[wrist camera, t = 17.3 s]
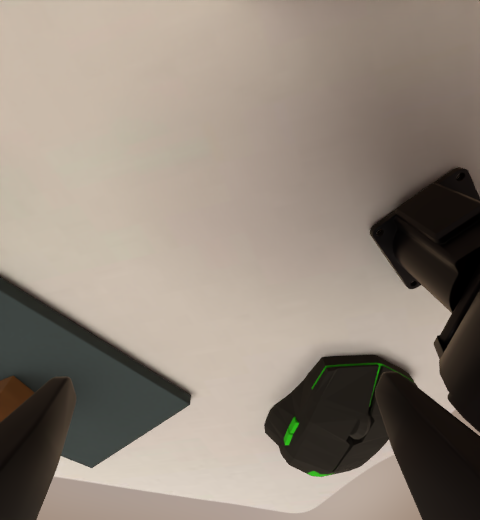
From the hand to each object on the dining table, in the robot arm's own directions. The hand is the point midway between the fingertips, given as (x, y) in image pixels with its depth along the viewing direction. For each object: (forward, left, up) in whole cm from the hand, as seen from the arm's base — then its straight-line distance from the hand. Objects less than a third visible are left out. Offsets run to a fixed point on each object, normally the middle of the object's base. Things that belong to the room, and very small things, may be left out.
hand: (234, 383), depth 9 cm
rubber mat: (-2, +20, -12) cm, 24 cm away
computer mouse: (-22, +6, -12) cm, 26 cm away
